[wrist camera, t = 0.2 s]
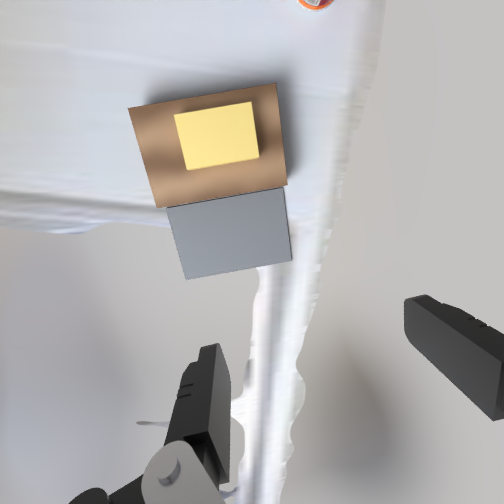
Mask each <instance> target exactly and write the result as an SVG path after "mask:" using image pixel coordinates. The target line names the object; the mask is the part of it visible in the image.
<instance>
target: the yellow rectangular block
mask: <svg viewBox="0 0 504 504" xmlns="http://www.w3.org/2000/svg"><path fill="white" fill-rule="evenodd" d="M174 118H175V122H176V126H177V131H178V135H179V139H180V143H181V147H182V151H183V156H184V160H185V164H186V168H187V170H195V169H200V168H206V167H212V166H217V165H223V164H229V163H235V162H240V161H246V160H252V159H257V158H259V151H258V145H257V138H256V131H255V124H254V117H253V110H252V104H251V102H246V103H240V104H234V105H228V106H223V107H217V108H211V109H205V110H199V111H193V112H187V113H182V114H176V115H174Z"/></svg>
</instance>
